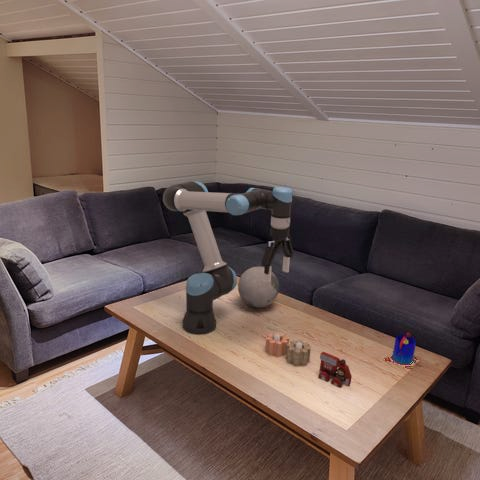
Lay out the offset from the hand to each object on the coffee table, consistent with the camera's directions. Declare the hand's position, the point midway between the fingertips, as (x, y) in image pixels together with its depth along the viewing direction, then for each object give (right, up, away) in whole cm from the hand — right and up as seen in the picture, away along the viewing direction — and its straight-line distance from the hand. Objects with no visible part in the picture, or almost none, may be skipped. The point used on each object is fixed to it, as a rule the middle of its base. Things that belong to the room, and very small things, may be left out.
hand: (276, 276), depth 182 cm
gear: (+7, -32, -10) cm, 34 cm away
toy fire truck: (+19, -37, -20) cm, 47 cm away
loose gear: (0, -30, -4) cm, 30 cm away
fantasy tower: (+50, -33, -5) cm, 60 cm away
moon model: (-6, -18, +37) cm, 42 cm away
